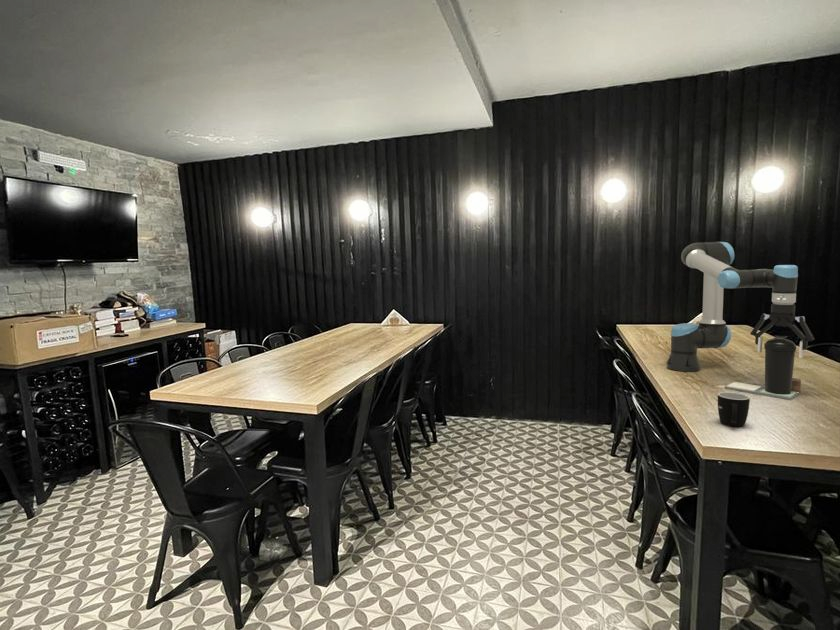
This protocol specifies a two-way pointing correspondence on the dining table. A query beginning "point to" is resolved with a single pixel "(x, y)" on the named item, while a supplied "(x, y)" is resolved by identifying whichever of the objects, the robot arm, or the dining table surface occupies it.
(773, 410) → the dining table surface
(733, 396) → the mug
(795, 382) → the walnut block
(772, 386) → the black travel mug
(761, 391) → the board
